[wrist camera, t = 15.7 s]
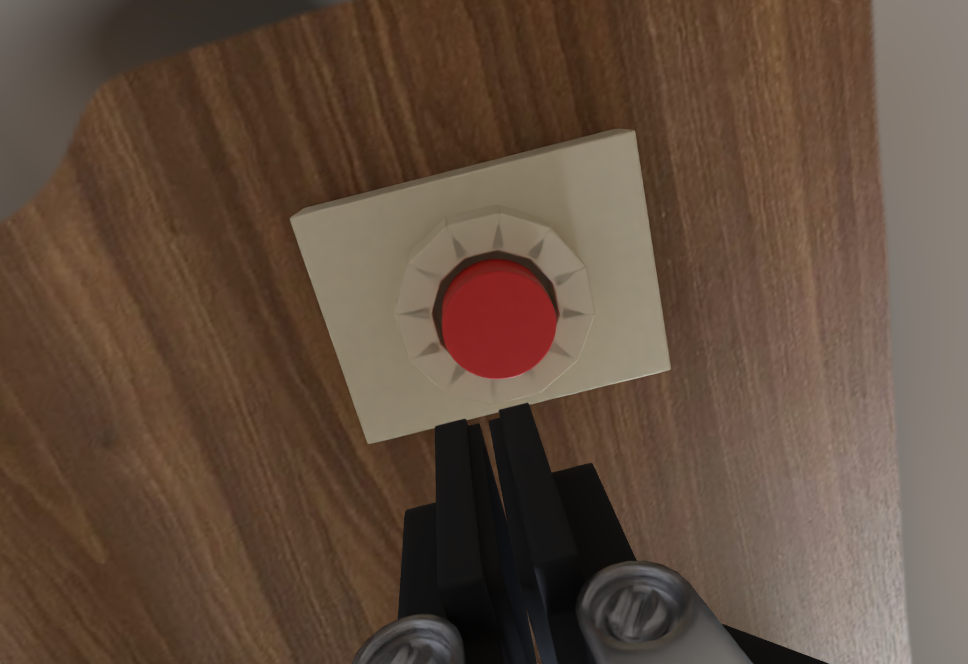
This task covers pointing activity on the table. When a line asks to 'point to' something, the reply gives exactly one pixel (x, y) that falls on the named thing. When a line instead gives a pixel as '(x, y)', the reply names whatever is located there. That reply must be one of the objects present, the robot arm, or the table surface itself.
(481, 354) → the button
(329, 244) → the button block
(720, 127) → the table surface
